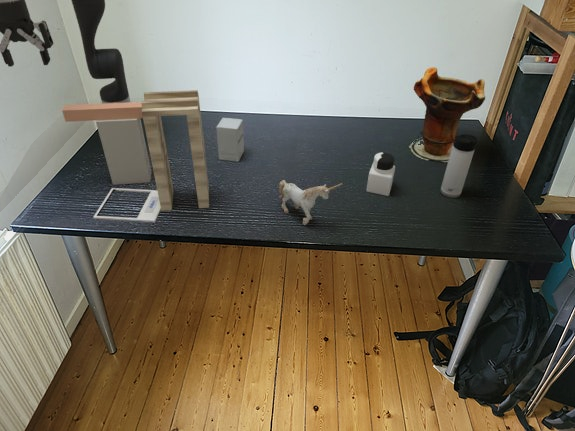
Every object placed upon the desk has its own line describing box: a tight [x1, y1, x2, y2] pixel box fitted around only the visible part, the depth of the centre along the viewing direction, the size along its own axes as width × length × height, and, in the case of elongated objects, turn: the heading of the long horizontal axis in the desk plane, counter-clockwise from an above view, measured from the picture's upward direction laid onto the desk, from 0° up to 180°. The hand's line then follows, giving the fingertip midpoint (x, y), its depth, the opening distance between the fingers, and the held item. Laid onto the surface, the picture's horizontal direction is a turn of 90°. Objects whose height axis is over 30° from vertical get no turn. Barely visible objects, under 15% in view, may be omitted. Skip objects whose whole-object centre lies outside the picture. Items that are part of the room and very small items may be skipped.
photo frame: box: [92, 187, 161, 223], centre depth 138 cm, size 15×1×18 cm
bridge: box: [140, 89, 210, 212], centre depth 130 cm, size 10×14×34 cm
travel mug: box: [440, 133, 478, 199], centre depth 140 cm, size 6×7×20 cm
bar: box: [61, 101, 143, 123], centre depth 134 cm, size 4×24×4 cm, turn 98°
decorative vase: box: [408, 67, 486, 163], centre depth 158 cm, size 21×23×28 cm
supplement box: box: [215, 117, 245, 163], centre depth 157 cm, size 7×7×13 cm
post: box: [95, 118, 152, 185], centre depth 142 cm, size 6×12×22 cm, turn 98°
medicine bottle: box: [365, 151, 396, 197], centre depth 143 cm, size 7×7×12 cm
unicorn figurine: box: [278, 179, 343, 226], centre depth 131 cm, size 7×20×13 cm, turn 62°
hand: (29, 64), depth 118 cm, fingers open, 8 cm apart
